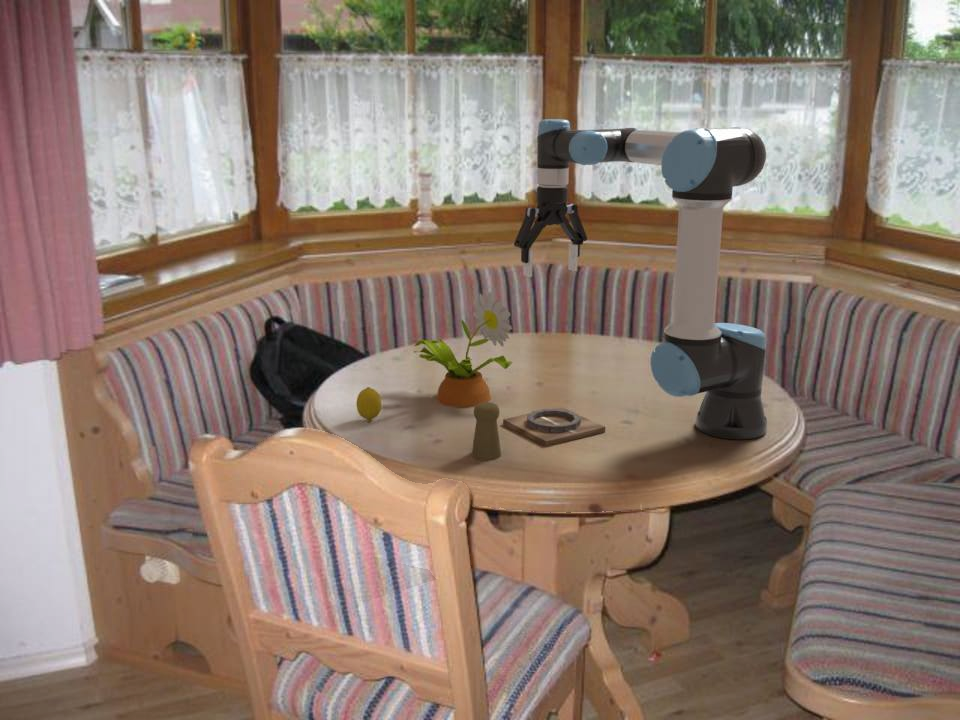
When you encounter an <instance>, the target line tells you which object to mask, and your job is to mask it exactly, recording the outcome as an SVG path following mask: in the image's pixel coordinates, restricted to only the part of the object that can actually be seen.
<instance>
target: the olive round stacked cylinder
mask: <svg viewBox="0 0 960 720" xmlns="http://www.w3.org/2000/svg"><path fill="white" fill-rule="evenodd" d="M499 416H500V408H499V406H498V404H496V403H494V402H491V401H489V402H482V403H479V404H477V405H476V406H475V407H474V408H473V417H474V418H475V420H476V421H475V427H474V428H475V429H474V434H473V435H474V437H473V444H472V448H471V449H472V451H471V457H473V459H476V460H481V461H492V460H493V461H494V460H497V459H499V458H500V457H502V449H501V445H500V435H499V429H498V419H499Z"/></svg>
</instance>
